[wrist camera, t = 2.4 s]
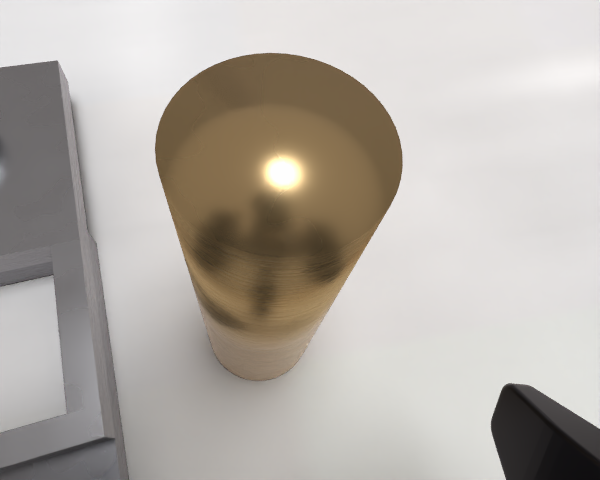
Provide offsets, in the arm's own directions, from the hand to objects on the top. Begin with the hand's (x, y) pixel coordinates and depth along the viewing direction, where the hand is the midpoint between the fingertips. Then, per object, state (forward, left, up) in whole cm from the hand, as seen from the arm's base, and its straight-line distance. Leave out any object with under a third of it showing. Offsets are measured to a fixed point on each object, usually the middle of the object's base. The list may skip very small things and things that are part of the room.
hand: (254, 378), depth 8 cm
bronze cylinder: (+3, +1, -10) cm, 11 cm away
